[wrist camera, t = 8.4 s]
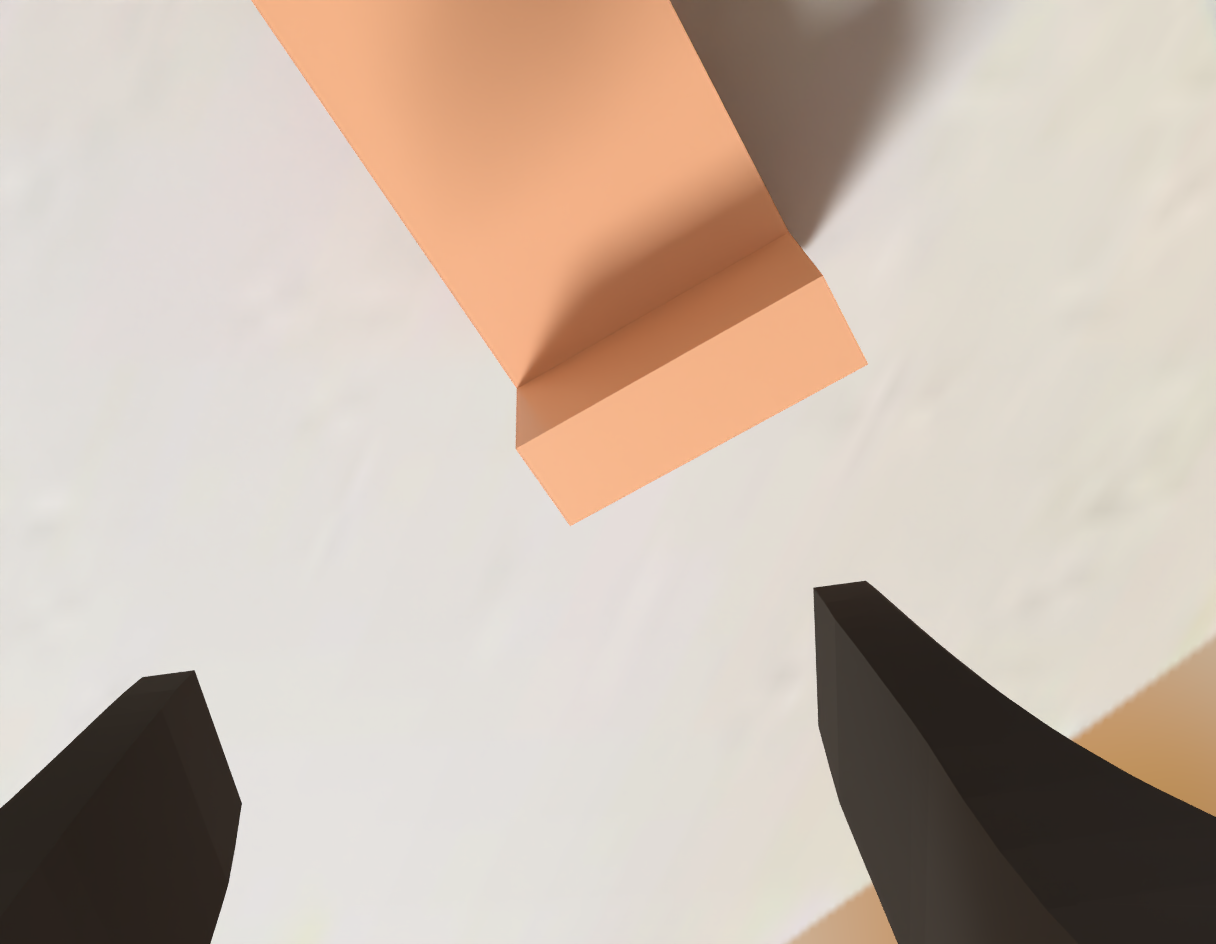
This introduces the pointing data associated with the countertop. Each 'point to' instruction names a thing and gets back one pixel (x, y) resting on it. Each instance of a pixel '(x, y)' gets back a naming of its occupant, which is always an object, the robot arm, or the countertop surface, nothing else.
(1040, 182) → the countertop surface
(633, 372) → the peach l-shaped bracket
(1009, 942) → the robot arm
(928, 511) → the countertop surface
